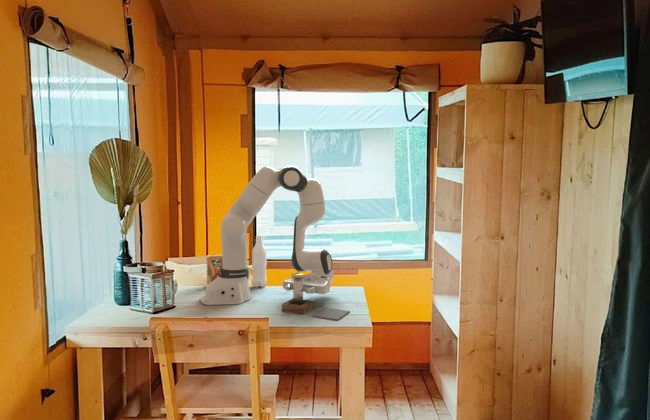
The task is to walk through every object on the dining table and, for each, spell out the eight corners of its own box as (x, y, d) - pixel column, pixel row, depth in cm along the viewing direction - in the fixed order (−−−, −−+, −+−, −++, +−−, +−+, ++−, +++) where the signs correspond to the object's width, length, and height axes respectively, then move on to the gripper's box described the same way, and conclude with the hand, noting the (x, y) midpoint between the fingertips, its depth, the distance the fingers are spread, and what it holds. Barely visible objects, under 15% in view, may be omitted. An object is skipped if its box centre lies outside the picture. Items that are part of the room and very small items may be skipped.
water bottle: (264, 288, 254) (263, 237, 251) (250, 287, 255) (249, 237, 252) (268, 284, 261) (268, 235, 258) (255, 284, 262) (254, 234, 259)
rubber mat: (337, 320, 206) (337, 319, 205) (310, 316, 211) (310, 315, 211) (349, 312, 216) (349, 311, 216) (323, 308, 221) (323, 307, 221)
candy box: (224, 284, 261) (224, 254, 260) (226, 286, 257) (225, 255, 256) (206, 285, 258) (206, 255, 256) (208, 287, 254) (207, 256, 253)
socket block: (303, 314, 213) (303, 307, 213) (281, 311, 217) (281, 304, 217) (314, 307, 222) (314, 301, 222) (293, 304, 226) (293, 298, 226)
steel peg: (293, 312, 216) (293, 276, 215) (289, 308, 222) (289, 273, 220) (306, 310, 218) (306, 275, 217) (302, 307, 223) (302, 272, 222)
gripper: (291, 273, 235) (275, 280, 222) (332, 278, 226) (318, 285, 214) (291, 287, 236) (275, 294, 223) (332, 292, 227) (318, 300, 214)
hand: (297, 290), depth 218 cm, fingers open, 8 cm apart
